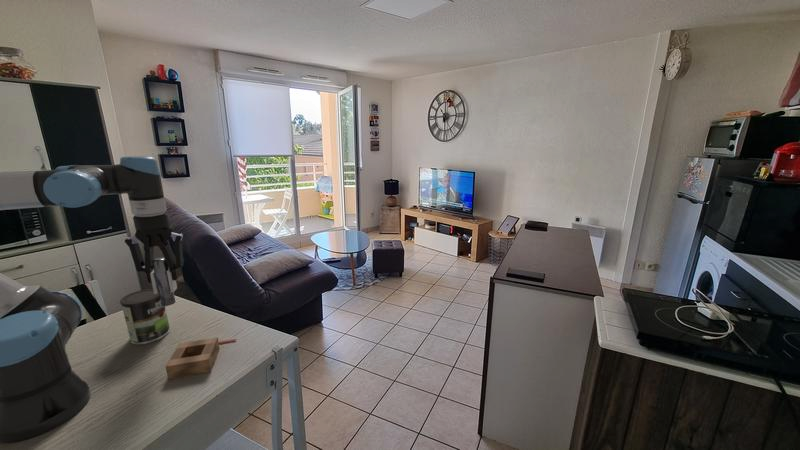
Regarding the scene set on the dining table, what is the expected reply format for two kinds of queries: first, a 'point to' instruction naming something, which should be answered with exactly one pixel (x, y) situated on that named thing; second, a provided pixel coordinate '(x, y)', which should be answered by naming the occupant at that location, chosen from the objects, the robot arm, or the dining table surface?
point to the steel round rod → (163, 281)
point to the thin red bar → (227, 341)
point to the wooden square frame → (193, 358)
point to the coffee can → (145, 316)
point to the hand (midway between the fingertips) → (166, 290)
